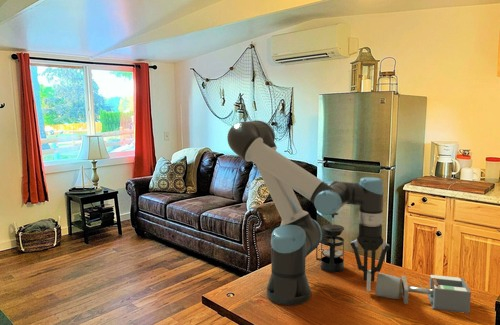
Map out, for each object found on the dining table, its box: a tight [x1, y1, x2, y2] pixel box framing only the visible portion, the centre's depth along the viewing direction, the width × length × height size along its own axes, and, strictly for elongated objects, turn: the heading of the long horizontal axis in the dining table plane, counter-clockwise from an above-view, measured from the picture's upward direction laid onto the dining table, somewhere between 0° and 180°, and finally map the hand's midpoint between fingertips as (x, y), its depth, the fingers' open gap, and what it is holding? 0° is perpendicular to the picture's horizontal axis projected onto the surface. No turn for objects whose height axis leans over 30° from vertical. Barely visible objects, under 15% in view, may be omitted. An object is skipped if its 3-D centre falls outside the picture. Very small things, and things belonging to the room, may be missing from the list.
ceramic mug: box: [375, 272, 403, 300], centre depth 129 cm, size 11×8×8 cm
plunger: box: [401, 274, 438, 305], centre depth 124 cm, size 12×11×7 cm
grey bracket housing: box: [427, 274, 472, 314], centre depth 122 cm, size 10×10×7 cm
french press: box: [315, 212, 345, 273], centre depth 151 cm, size 12×9×23 cm
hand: (368, 289), depth 130 cm, fingers closed
